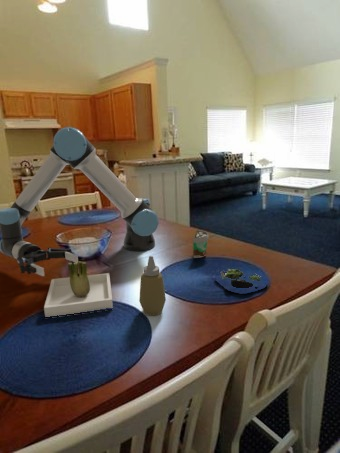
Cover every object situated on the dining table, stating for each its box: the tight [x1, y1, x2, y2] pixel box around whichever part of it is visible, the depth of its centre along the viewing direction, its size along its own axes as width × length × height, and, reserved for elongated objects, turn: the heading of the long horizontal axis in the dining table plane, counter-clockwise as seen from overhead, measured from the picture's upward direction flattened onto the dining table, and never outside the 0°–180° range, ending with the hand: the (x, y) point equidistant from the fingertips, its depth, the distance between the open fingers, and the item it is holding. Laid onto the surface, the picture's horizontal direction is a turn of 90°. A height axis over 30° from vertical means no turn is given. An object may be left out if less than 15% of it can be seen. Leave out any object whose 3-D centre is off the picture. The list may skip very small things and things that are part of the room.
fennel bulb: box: [67, 260, 90, 297], centre depth 107 cm, size 6×5×12 cm
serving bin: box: [43, 272, 114, 317], centre depth 108 cm, size 20×20×4 cm
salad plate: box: [220, 268, 261, 288], centre depth 118 cm, size 19×18×5 cm
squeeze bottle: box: [138, 255, 167, 316], centre depth 97 cm, size 8×8×18 cm
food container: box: [192, 229, 210, 257], centre depth 142 cm, size 12×6×10 cm, turn 168°
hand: (61, 265), depth 111 cm, fingers open, 13 cm apart
